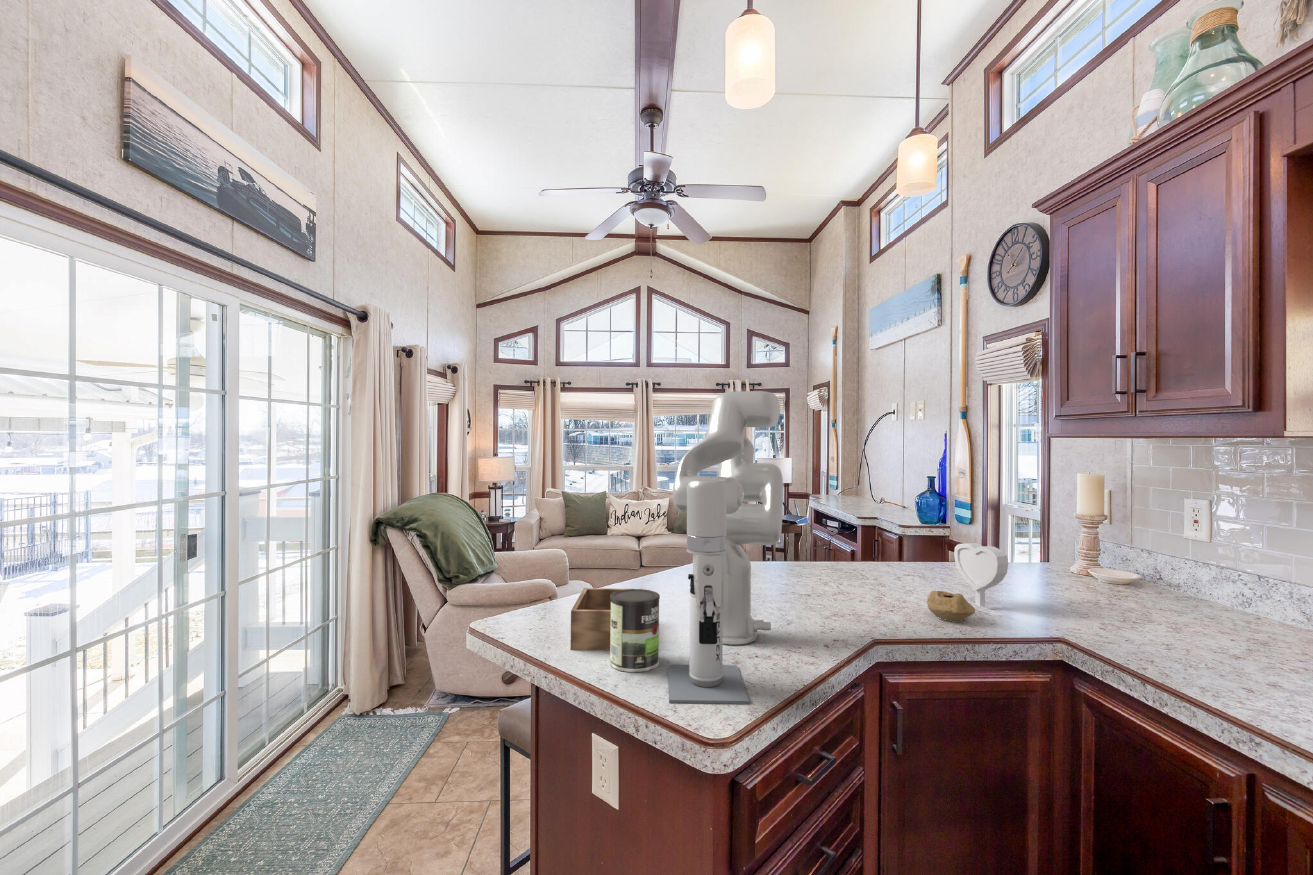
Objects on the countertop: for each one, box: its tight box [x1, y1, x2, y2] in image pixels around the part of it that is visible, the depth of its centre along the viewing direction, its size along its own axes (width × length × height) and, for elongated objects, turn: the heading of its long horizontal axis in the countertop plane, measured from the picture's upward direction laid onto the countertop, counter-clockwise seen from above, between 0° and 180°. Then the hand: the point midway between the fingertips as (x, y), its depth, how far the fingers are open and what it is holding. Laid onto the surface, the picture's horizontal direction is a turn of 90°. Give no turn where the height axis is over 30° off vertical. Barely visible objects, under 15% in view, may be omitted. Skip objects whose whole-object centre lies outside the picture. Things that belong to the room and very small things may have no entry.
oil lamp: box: [926, 590, 976, 622], centre depth 148 cm, size 11×15×8 cm
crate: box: [569, 587, 627, 651], centre depth 132 cm, size 13×20×8 cm, turn 179°
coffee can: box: [609, 588, 661, 673], centre depth 115 cm, size 10×10×14 cm
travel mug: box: [687, 573, 724, 687], centre depth 105 cm, size 6×7×20 cm
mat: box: [667, 663, 750, 705], centre depth 105 cm, size 14×16×1 cm
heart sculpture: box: [953, 542, 1009, 608], centre depth 157 cm, size 16×5×18 cm, turn 13°
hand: (705, 634), depth 105 cm, fingers open, 9 cm apart
